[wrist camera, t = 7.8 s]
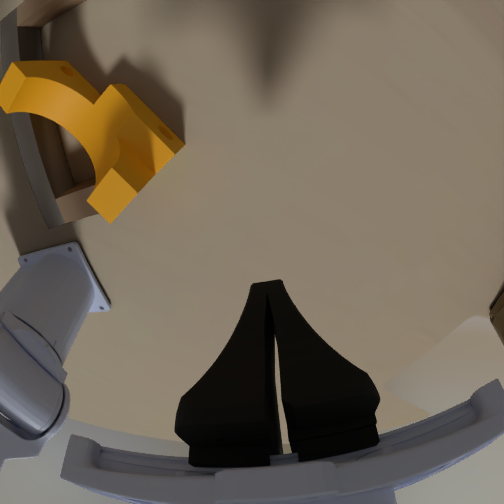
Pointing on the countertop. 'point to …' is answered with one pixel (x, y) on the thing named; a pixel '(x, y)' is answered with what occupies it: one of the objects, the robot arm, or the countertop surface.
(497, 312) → the paper package
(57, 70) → the yellow bracket
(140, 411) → the countertop surface
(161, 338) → the countertop surface
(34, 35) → the dark brown long trough
